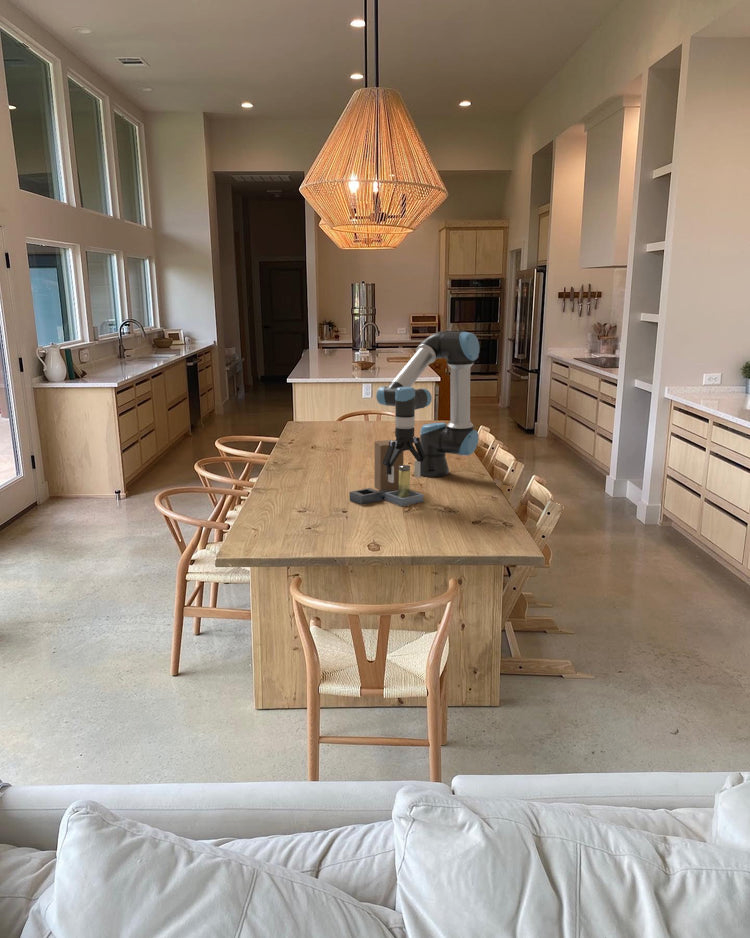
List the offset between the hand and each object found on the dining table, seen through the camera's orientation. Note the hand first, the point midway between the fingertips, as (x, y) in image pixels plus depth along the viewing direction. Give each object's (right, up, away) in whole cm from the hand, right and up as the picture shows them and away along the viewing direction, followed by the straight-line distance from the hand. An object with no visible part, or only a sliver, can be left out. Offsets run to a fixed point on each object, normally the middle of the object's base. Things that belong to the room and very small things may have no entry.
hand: (404, 479), depth 292 cm
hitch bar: (-12, -8, +5) cm, 15 cm away
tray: (0, -8, +2) cm, 9 cm away
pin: (0, -8, +2) cm, 8 cm away
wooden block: (-6, -4, +20) cm, 22 cm away
